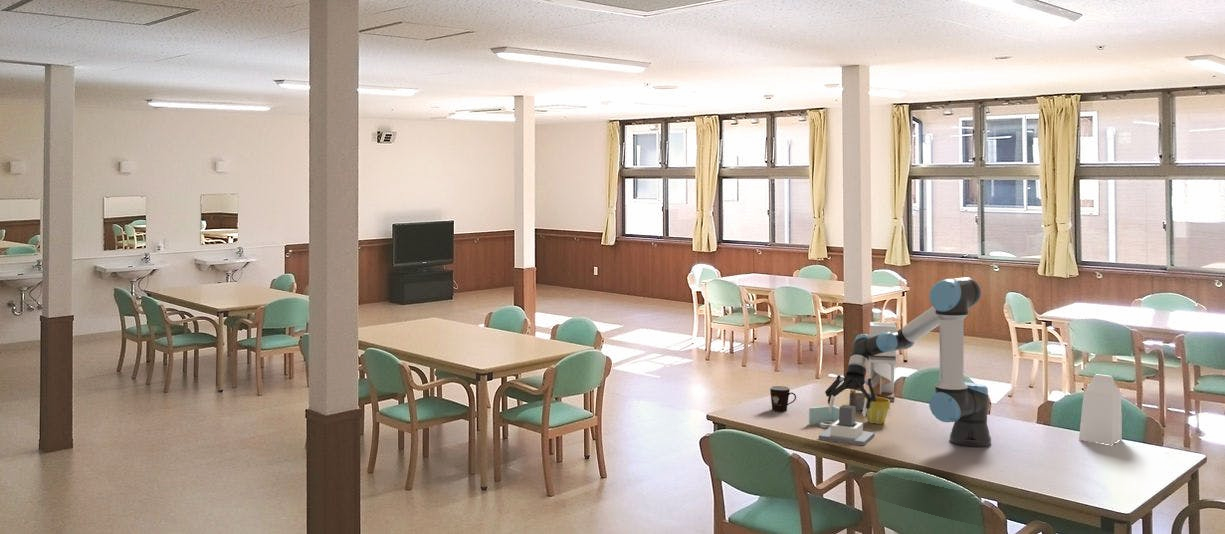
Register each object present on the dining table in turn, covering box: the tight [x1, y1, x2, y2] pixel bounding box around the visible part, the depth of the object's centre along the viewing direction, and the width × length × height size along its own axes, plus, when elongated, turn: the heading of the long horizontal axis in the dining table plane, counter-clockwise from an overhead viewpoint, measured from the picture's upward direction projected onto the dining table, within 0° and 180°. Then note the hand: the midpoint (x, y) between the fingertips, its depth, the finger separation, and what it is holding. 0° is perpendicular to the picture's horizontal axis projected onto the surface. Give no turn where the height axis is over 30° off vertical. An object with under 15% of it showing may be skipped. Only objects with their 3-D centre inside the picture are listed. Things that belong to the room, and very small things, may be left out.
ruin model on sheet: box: [848, 389, 876, 411], centre depth 421 cm, size 11×3×10 cm, turn 74°
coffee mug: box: [769, 385, 797, 413], centre depth 420 cm, size 12×9×10 cm
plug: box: [838, 404, 856, 427], centre depth 376 cm, size 5×5×11 cm
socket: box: [818, 420, 875, 447], centre depth 377 cm, size 18×15×6 cm
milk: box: [1078, 373, 1123, 445], centre depth 372 cm, size 12×12×26 cm
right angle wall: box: [808, 405, 840, 429], centre depth 393 cm, size 12×12×8 cm
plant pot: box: [864, 397, 891, 425], centre depth 400 cm, size 10×10×10 cm
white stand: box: [867, 321, 898, 402], centre depth 442 cm, size 11×11×35 cm
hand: (846, 412), depth 376 cm, fingers open, 13 cm apart
